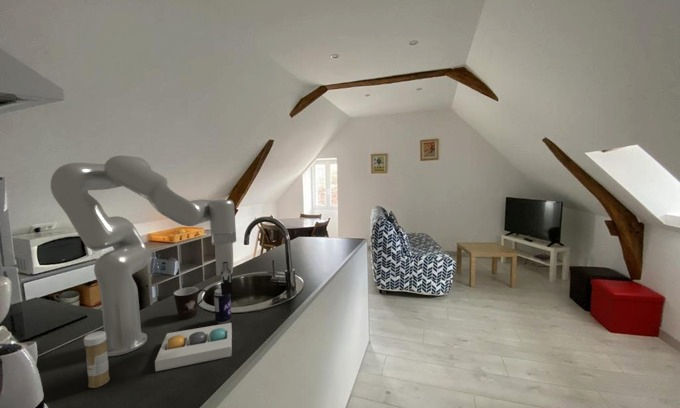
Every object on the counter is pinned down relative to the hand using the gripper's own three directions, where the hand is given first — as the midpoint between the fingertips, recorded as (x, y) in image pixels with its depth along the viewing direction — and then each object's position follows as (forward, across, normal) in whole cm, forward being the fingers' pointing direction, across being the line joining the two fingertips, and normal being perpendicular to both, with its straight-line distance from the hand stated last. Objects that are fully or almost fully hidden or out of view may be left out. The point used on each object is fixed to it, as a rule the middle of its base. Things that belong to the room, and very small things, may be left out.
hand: (227, 289), depth 98 cm
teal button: (+15, +2, -4) cm, 16 cm away
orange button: (+15, +2, -16) cm, 22 cm away
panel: (+17, +2, -10) cm, 20 cm away
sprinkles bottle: (+17, +9, -33) cm, 38 cm away
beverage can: (+18, -15, -2) cm, 23 cm away
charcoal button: (+15, +2, -10) cm, 18 cm away
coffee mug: (+17, -25, -14) cm, 34 cm away
